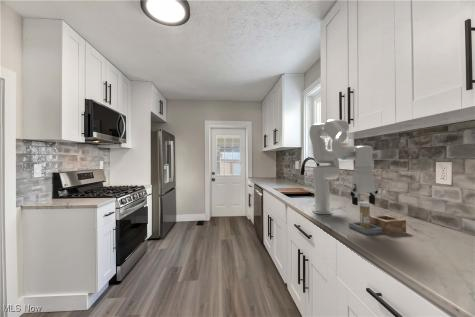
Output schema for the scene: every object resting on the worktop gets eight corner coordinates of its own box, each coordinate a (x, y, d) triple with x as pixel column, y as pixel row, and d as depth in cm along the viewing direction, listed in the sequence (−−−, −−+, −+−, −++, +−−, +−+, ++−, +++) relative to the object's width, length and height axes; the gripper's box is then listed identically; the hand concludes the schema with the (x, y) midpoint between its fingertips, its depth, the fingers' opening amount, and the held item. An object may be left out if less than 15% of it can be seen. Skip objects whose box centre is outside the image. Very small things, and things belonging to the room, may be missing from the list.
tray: (349, 227, 115) (348, 222, 115) (364, 226, 117) (364, 221, 117) (366, 234, 103) (366, 229, 103) (382, 233, 105) (382, 228, 105)
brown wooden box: (368, 227, 114) (368, 215, 114) (386, 226, 116) (386, 214, 116) (386, 234, 103) (386, 221, 104) (406, 232, 105) (405, 220, 106)
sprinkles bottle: (369, 231, 107) (368, 203, 107) (358, 229, 110) (358, 202, 110) (371, 228, 110) (370, 202, 110) (361, 227, 113) (360, 200, 113)
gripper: (372, 169, 116) (372, 201, 116) (343, 170, 113) (343, 203, 113) (384, 170, 108) (384, 205, 109) (353, 171, 105) (353, 207, 106)
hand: (363, 204), depth 111 cm, fingers open, 9 cm apart
